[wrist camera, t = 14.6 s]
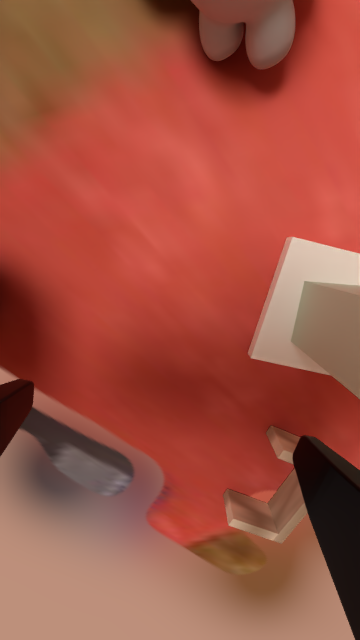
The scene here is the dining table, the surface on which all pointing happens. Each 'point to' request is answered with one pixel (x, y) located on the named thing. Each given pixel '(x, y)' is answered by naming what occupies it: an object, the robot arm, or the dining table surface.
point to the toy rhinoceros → (247, 29)
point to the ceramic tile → (298, 298)
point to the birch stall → (283, 506)
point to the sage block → (331, 330)
